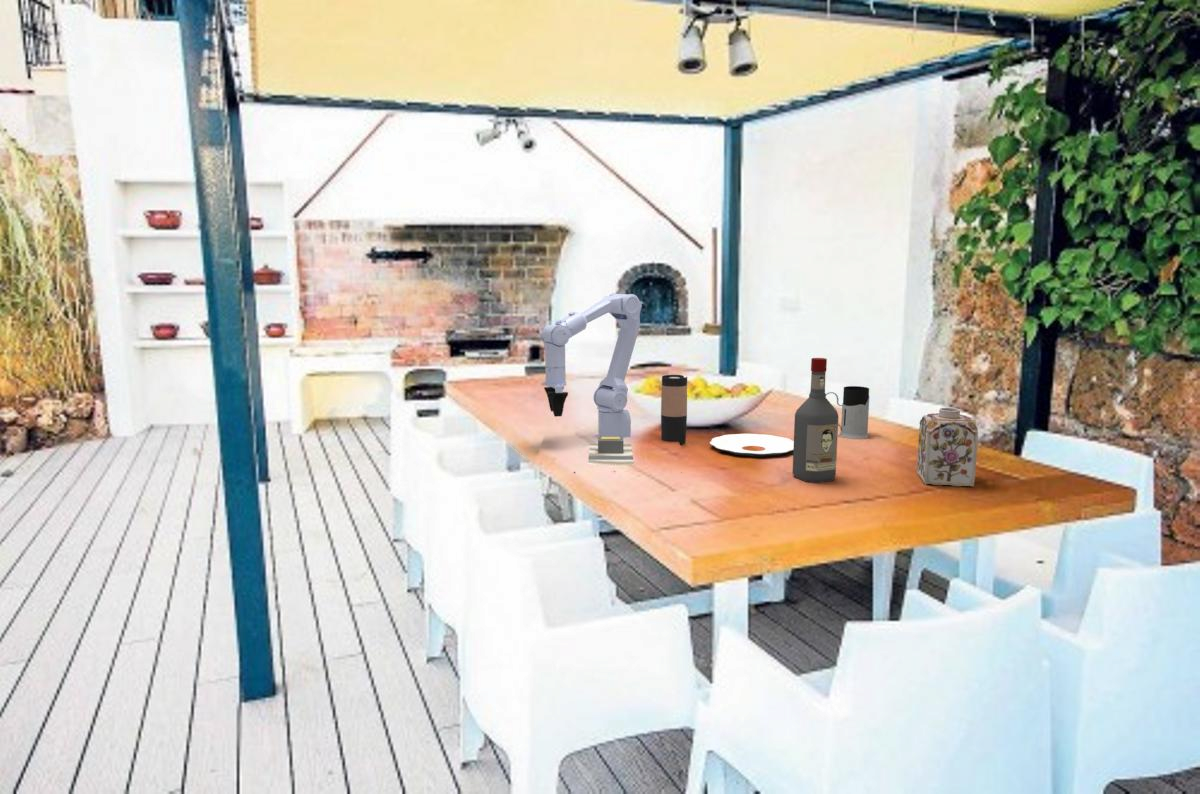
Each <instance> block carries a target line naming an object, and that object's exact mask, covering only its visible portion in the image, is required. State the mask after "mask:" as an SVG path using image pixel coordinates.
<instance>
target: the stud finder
mask: <svg viewBox="0 0 1200 794" xmlns="http://www.w3.org/2000/svg"><path fill="white" fill-rule="evenodd" d="M624 441H625V440H624V437H599V436H597V444H598V453H623V444H624V443H625V442H624Z"/></svg>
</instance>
